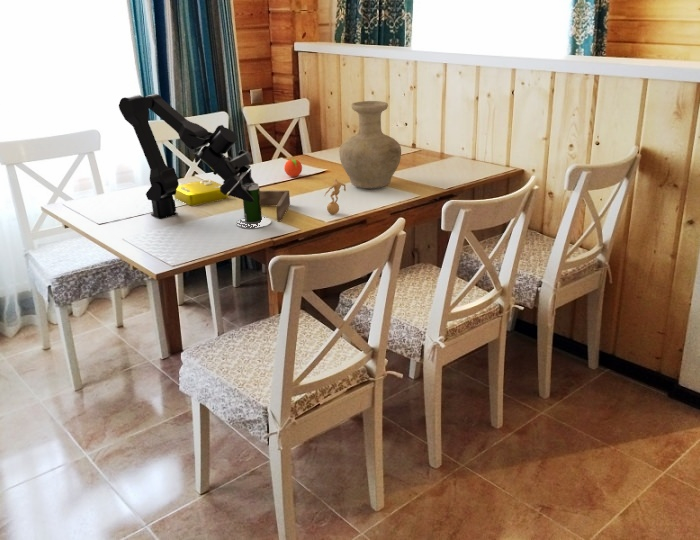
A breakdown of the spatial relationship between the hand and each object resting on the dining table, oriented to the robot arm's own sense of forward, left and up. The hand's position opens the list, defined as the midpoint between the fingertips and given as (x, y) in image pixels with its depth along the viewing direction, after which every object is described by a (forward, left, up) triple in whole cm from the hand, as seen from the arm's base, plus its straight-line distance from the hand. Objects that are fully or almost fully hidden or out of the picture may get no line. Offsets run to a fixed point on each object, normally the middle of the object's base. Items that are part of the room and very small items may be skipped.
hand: (256, 197), depth 214 cm
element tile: (+4, +39, -9) cm, 40 cm away
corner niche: (+8, +7, -9) cm, 14 cm away
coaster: (-1, +1, -9) cm, 9 cm away
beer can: (-1, +1, -8) cm, 8 cm away
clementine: (+44, +35, -9) cm, 57 cm away
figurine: (+22, -12, -9) cm, 27 cm away
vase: (+54, +3, -9) cm, 55 cm away
